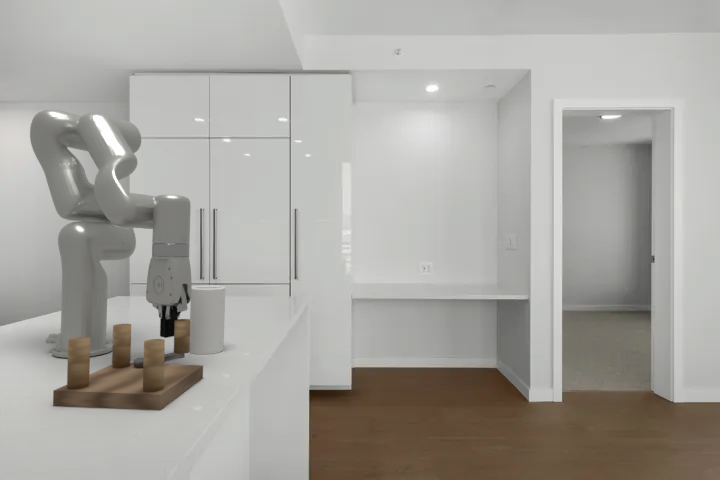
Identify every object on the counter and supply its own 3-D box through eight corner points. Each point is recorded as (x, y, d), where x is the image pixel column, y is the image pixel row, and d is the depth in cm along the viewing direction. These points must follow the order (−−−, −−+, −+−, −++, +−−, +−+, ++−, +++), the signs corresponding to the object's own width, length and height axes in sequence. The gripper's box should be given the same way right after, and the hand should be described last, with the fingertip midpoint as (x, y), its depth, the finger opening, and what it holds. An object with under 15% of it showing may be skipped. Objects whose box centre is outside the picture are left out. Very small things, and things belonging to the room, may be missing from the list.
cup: (204, 356, 111) (206, 289, 111) (182, 351, 115) (183, 286, 115) (230, 349, 118) (232, 287, 118) (208, 345, 122) (210, 284, 122)
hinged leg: (139, 368, 89) (140, 327, 89) (130, 365, 91) (131, 325, 91) (192, 356, 99) (193, 320, 99) (183, 354, 100) (184, 318, 101)
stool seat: (52, 405, 76) (54, 341, 76) (115, 374, 94) (117, 322, 94) (160, 409, 75) (161, 344, 75) (202, 377, 93) (204, 325, 93)
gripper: (134, 251, 101) (132, 334, 101) (177, 253, 93) (175, 344, 93) (165, 251, 108) (163, 329, 107) (207, 253, 100) (205, 338, 99)
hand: (168, 336), depth 100 cm, fingers closed
